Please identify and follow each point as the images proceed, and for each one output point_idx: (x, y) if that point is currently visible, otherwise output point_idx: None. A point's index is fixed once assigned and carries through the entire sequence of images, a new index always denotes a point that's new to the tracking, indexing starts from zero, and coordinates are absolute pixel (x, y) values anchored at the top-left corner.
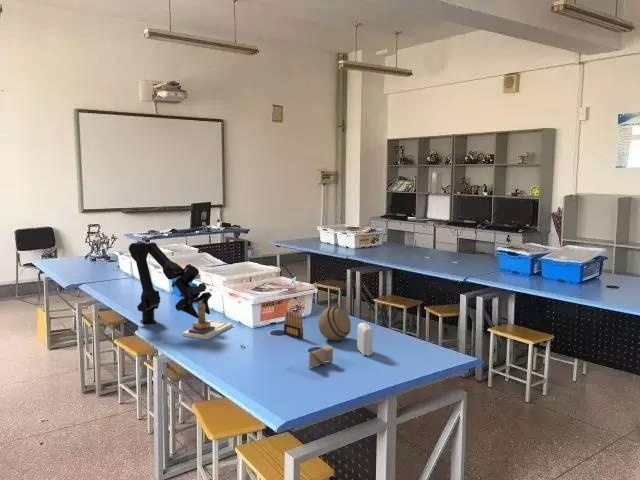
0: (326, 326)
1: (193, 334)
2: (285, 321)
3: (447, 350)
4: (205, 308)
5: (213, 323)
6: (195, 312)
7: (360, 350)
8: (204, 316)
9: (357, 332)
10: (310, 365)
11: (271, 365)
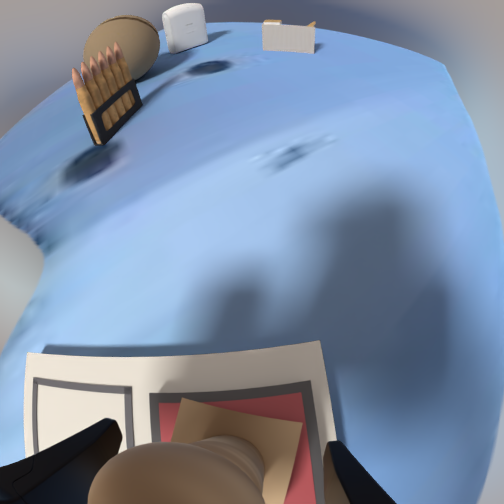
0: (156, 38)
1: None
2: (91, 104)
3: None
4: (75, 491)
5: None
6: (370, 486)
7: (196, 42)
8: (213, 439)
9: (174, 25)
10: (311, 47)
11: (351, 79)
